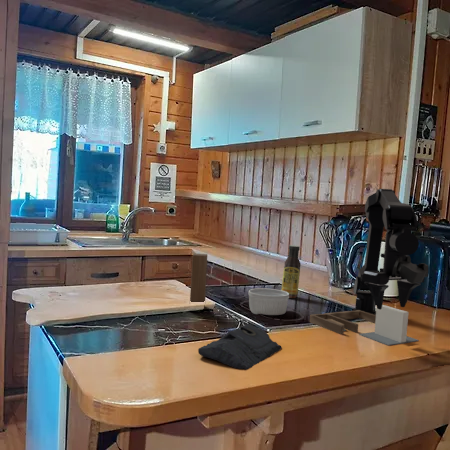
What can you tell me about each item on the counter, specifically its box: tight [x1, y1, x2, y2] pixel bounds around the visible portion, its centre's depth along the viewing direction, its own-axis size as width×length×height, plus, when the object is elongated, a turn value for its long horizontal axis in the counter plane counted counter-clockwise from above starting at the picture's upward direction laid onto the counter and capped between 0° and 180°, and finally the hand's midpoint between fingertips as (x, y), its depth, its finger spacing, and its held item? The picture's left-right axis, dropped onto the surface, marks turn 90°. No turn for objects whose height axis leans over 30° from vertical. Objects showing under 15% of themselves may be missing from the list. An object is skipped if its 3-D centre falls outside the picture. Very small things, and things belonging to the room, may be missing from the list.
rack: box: [309, 310, 376, 335], centre depth 138 cm, size 20×13×3 cm, turn 120°
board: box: [374, 304, 409, 342], centre depth 126 cm, size 2×9×8 cm, turn 30°
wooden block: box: [189, 252, 208, 302], centre depth 150 cm, size 9×4×18 cm, turn 0°
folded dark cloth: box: [197, 323, 283, 371], centre depth 110 cm, size 15×22×5 cm
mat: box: [358, 331, 420, 347], centre depth 127 cm, size 12×10×1 cm
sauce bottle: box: [281, 244, 301, 299], centre depth 177 cm, size 6×6×20 cm
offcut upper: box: [326, 319, 344, 326], centre depth 134 cm, size 3×6×2 cm, turn 24°
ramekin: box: [248, 287, 290, 316], centre depth 150 cm, size 13×13×7 cm
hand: (391, 308), depth 126 cm, fingers open, 9 cm apart
